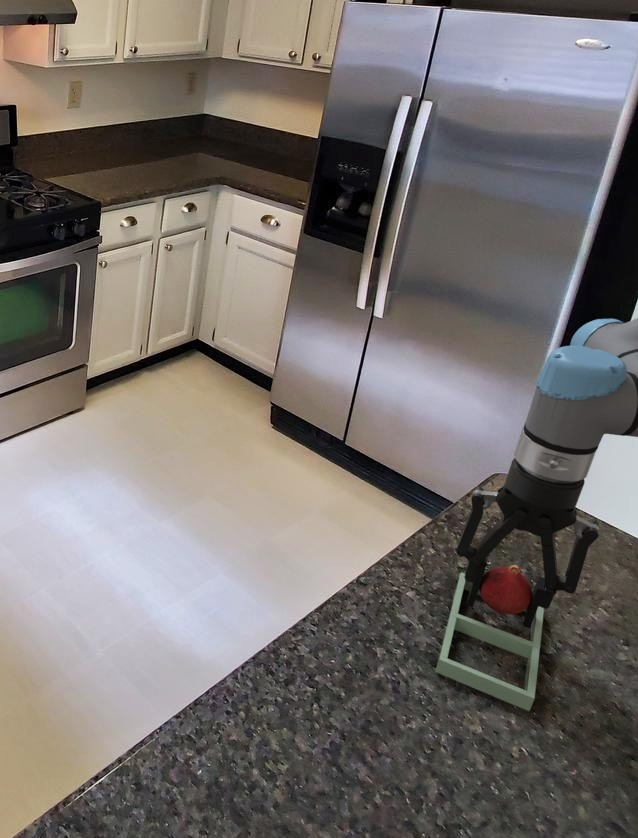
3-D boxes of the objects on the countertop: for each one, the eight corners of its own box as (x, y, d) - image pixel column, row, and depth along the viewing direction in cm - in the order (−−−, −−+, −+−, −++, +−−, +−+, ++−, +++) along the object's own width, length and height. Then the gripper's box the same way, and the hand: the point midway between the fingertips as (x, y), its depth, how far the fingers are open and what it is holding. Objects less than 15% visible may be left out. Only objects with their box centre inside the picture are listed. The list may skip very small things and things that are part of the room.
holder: (455, 588, 115) (460, 571, 114) (538, 618, 110) (544, 601, 108) (433, 677, 101) (439, 659, 99) (527, 716, 95) (534, 698, 94)
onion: (481, 623, 106) (496, 577, 102) (467, 593, 111) (482, 548, 107) (530, 631, 104) (547, 584, 101) (514, 600, 109) (531, 554, 106)
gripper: (457, 457, 100) (416, 597, 110) (646, 510, 90) (582, 660, 100) (465, 431, 105) (425, 567, 115) (644, 478, 95) (584, 623, 105)
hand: (498, 610), depth 107 cm, fingers closed on onion, 6 cm apart
